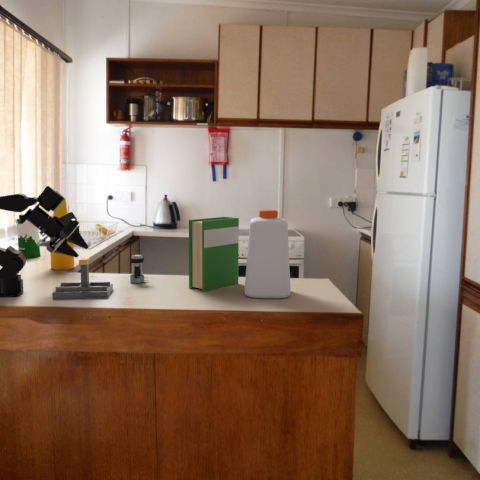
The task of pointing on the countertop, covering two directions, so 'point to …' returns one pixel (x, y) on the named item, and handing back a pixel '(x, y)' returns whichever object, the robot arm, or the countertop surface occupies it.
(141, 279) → the push button
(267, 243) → the plastic bottle
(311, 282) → the countertop surface
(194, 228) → the hardback book
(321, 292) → the countertop surface
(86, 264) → the lever
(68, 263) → the beer bottle
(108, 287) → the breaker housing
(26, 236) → the milk carton
